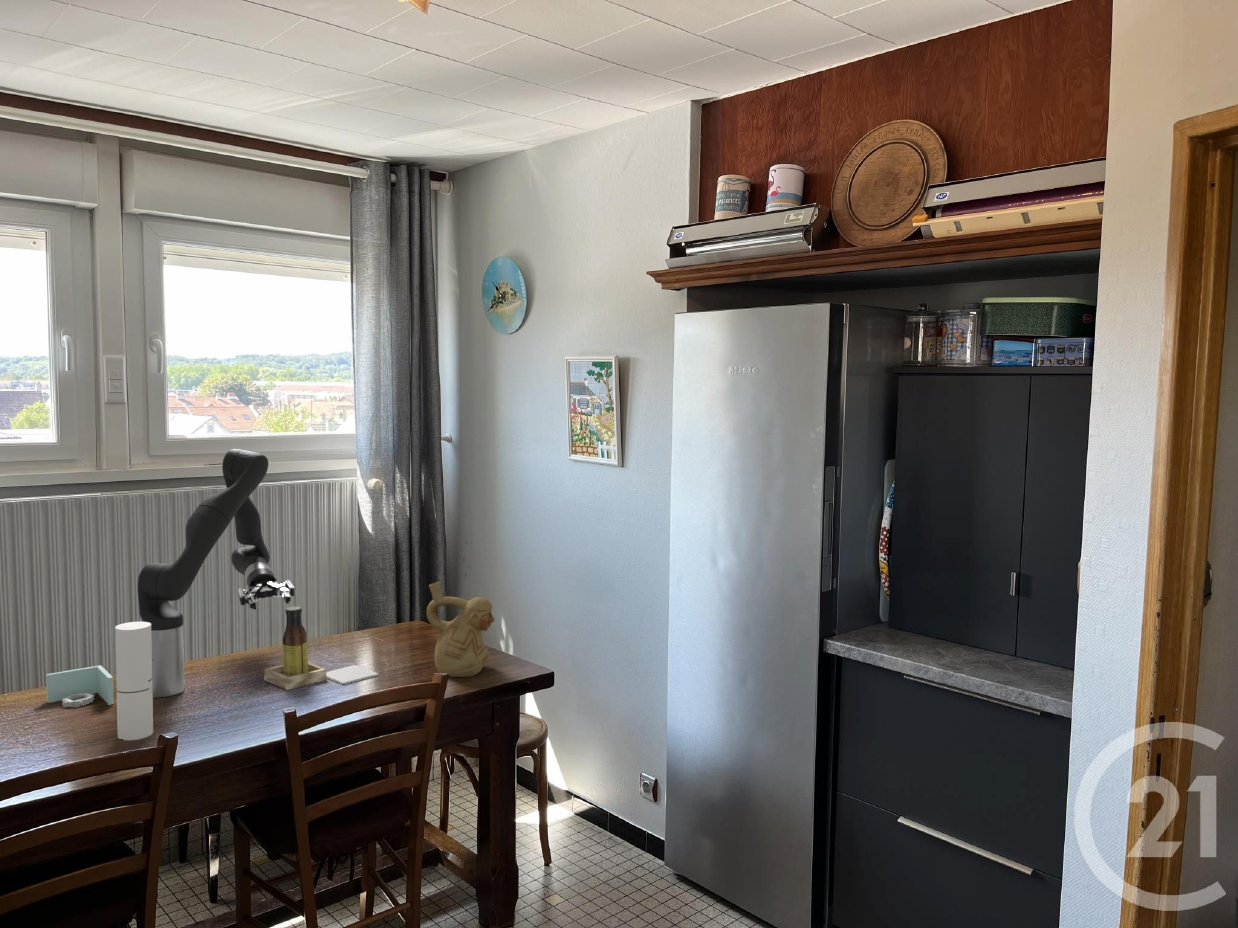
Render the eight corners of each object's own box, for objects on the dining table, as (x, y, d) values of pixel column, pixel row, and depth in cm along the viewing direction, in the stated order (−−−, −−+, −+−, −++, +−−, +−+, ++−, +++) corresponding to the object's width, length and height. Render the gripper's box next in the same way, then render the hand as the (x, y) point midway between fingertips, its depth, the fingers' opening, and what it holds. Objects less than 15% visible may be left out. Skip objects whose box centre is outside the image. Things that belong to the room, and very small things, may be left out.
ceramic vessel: (484, 682, 251) (485, 591, 249) (415, 677, 254) (416, 587, 252) (502, 664, 267) (503, 579, 265) (437, 659, 270) (437, 575, 268)
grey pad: (343, 684, 246) (343, 682, 246) (320, 675, 253) (320, 673, 253) (378, 675, 255) (378, 673, 254) (354, 666, 262) (354, 664, 262)
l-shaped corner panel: (47, 703, 228) (46, 674, 228) (101, 693, 236) (100, 665, 236) (57, 717, 219) (56, 686, 219) (113, 706, 227) (113, 677, 227)
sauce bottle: (300, 674, 254) (299, 603, 252) (312, 679, 250) (312, 607, 248) (278, 680, 249) (277, 607, 247) (290, 685, 245) (290, 611, 243)
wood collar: (287, 689, 241) (287, 678, 241) (264, 680, 248) (264, 669, 248) (326, 679, 250) (326, 668, 250) (303, 670, 257) (303, 660, 257)
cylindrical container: (158, 728, 213) (156, 621, 211) (144, 740, 206) (141, 630, 204) (127, 728, 213) (124, 621, 210) (111, 740, 205) (108, 629, 203)
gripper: (232, 572, 261) (242, 596, 248) (285, 563, 268) (297, 586, 254) (235, 595, 263) (244, 621, 250) (287, 586, 270) (299, 610, 257)
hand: (271, 603), depth 252 cm, fingers open, 8 cm apart
